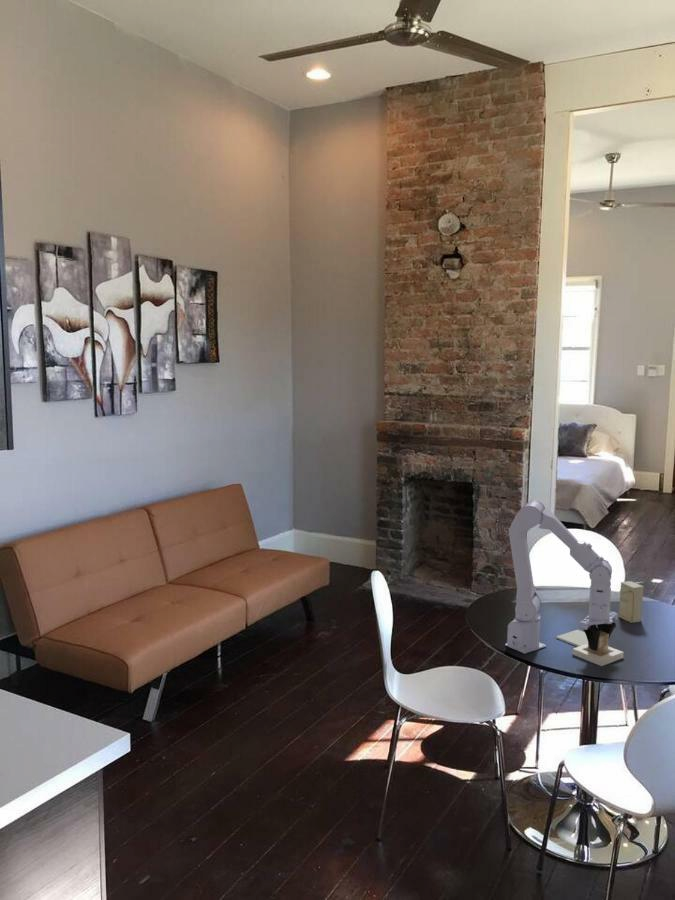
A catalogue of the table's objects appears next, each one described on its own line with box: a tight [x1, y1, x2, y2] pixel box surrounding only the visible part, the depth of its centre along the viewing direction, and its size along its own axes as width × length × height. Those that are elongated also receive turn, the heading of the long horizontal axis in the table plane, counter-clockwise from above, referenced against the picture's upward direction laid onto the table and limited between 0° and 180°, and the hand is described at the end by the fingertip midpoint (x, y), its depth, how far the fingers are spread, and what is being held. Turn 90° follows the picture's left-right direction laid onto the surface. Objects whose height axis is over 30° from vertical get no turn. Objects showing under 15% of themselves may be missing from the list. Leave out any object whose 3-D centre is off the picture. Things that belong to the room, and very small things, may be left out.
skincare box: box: [618, 580, 645, 624], centre depth 244 cm, size 6×4×12 cm
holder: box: [572, 644, 625, 667], centre depth 215 cm, size 10×10×2 cm
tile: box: [555, 629, 588, 647], centre depth 228 cm, size 10×10×1 cm
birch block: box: [588, 632, 610, 656], centre depth 215 cm, size 4×4×7 cm
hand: (598, 647), depth 215 cm, fingers closed on birch block, 4 cm apart
